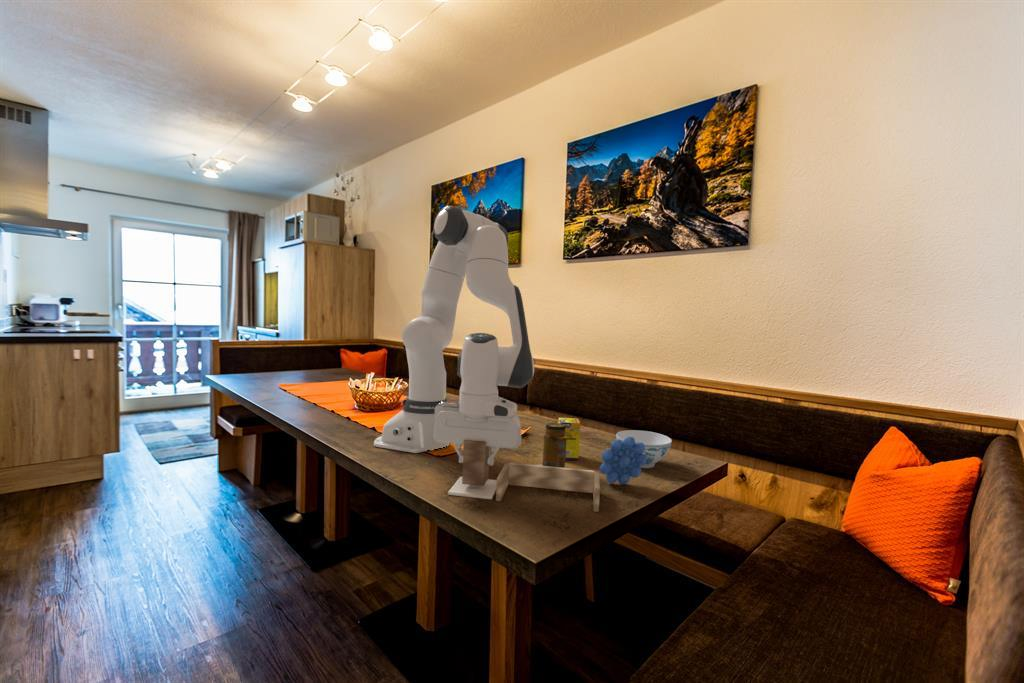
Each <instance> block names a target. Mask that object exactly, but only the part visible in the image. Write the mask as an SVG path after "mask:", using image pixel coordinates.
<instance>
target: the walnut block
mask: <svg viewBox="0 0 1024 683" xmlns="http://www.w3.org/2000/svg"><path fill="white" fill-rule="evenodd" d="M462 448H463V449H462V451H463V463H462V473H461V474H462V476H461V477H462V484H468V485H478V486H484V485H485V483H486V481H487V480H488V479H489V471H490V469H489V468H490V466H489V465H486V458H487V456H490V448H491V447H487V446H486V442H485V441H474V440H464V443H463V446H462Z"/></svg>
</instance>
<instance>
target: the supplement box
mask: <svg viewBox="0 0 1024 683" xmlns="http://www.w3.org/2000/svg"><path fill="white" fill-rule="evenodd" d="M557 423H560V424H563V425H565V427H566V428H565V431H566V433H565V435H566V438H567V439H566V443H567V444H566V460H565V461H578V462H579V459H580V458H579V457H580V437H581V422H580V420H579V418H573V417H572V418H571V417H558V419H557Z"/></svg>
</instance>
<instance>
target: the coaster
mask: <svg viewBox="0 0 1024 683" xmlns="http://www.w3.org/2000/svg"><path fill="white" fill-rule="evenodd" d="M496 488H497V479H490V478H488V480H487V481H486V483H485V485H484V486H478V485H468V484H462V476H459V478H457V480H456V481H455V483H453V486H452V487H450V489H449V490H448V491H447V495H450V496H457V497H458V496H459V497H467V498H475V499H477V498H478V499H483V500H484V499H485V500H493V499H494V497H495V496H496Z"/></svg>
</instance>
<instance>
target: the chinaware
mask: <svg viewBox="0 0 1024 683" xmlns="http://www.w3.org/2000/svg"><path fill="white" fill-rule="evenodd" d="M615 436H616V437H615V438H616V439H617V440H621V441H622V442H623V441H624V439H625V438H627V437H633V438H634V439H635V443H637V442H641V443H643V444H644V446H645V450H644V452H643V453H642V454H645V455H646V456H647V462H646V464H645V465H643V466H640V467H641V469H643V468H644V469H651V468H654V467H655V464H656V463H659V462H660V461H661V460H663V459H664V458H665V456H666V455H667V454H668V452H669V451H670V448H671V447H672V444H673V443H672V441H673V440H672V438H670V437H669V436H667V435H664V434H661V433H659V432H658V433H657V432H654V431H648V430H638V429H637V430H635V429H633V430H631V429H630V430H621V431H618V432H616V434H615Z"/></svg>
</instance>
